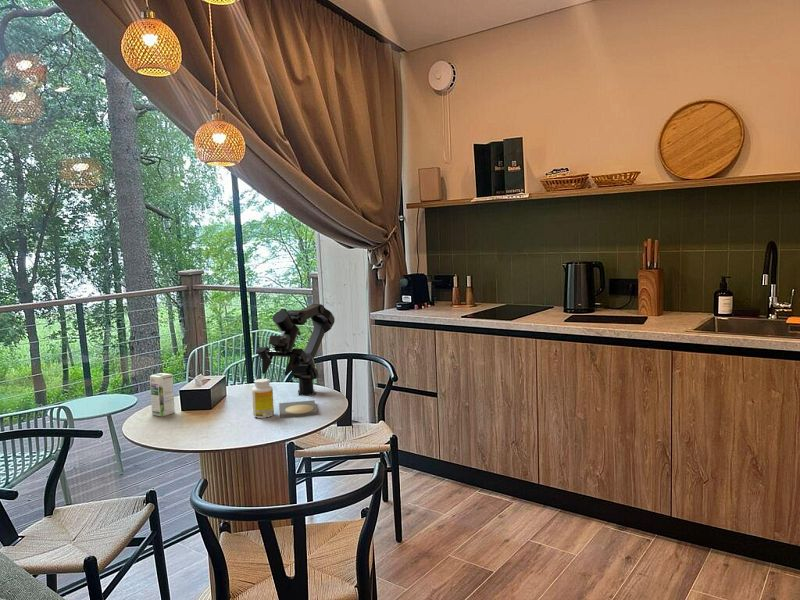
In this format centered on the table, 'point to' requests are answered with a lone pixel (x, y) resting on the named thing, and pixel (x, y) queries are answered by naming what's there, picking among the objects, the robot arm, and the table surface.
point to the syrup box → (162, 394)
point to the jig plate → (297, 408)
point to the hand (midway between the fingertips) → (274, 374)
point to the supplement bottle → (262, 399)
